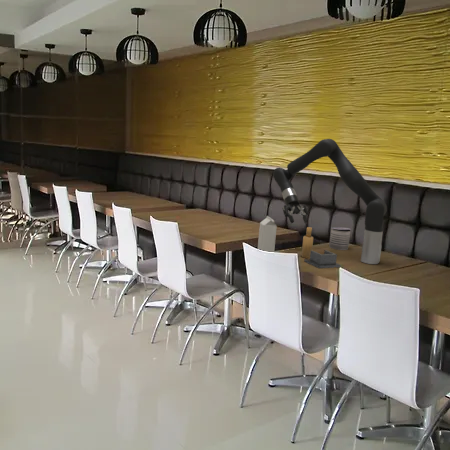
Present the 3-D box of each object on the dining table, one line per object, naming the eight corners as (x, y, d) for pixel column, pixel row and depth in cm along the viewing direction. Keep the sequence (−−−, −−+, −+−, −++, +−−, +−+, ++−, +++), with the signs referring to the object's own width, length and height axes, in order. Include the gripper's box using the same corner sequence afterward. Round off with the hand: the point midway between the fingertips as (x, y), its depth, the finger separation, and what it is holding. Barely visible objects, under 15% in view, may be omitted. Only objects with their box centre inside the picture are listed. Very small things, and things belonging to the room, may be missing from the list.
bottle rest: (304, 261, 269) (305, 249, 268) (325, 260, 275) (326, 248, 274) (318, 268, 258) (320, 256, 256) (340, 267, 263) (341, 255, 262)
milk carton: (261, 252, 280) (265, 217, 277) (257, 249, 287) (260, 215, 283) (274, 253, 282) (277, 218, 279) (269, 249, 289) (272, 215, 285)
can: (334, 249, 302) (336, 229, 300) (325, 245, 313) (327, 225, 311) (352, 250, 305) (354, 229, 303) (342, 245, 316) (345, 226, 314)
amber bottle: (305, 255, 283) (309, 226, 280) (313, 257, 279) (316, 228, 276) (299, 256, 279) (302, 226, 276) (306, 258, 275) (309, 228, 272)
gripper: (282, 193, 287) (291, 218, 279) (304, 194, 293) (313, 218, 285) (276, 201, 293) (285, 226, 285) (298, 202, 299) (307, 226, 291)
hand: (299, 222), depth 285 cm, fingers open, 8 cm apart
